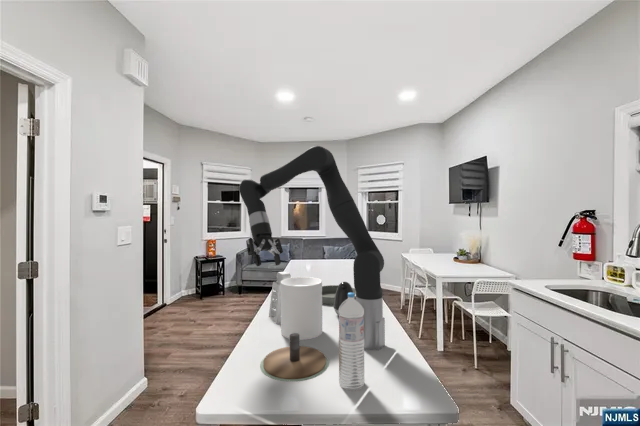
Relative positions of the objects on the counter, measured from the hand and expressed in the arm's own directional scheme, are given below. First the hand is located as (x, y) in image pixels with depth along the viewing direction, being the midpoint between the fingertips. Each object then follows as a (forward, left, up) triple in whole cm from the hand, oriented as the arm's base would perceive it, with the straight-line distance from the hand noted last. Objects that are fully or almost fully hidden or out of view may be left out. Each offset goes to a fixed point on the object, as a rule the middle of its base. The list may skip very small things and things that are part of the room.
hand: (269, 265), depth 115 cm
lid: (-19, +11, -27) cm, 35 cm away
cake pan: (+4, -59, -28) cm, 65 cm away
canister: (-7, -11, -28) cm, 30 cm away
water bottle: (-39, +13, -28) cm, 50 cm away
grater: (+9, -21, -28) cm, 35 cm away
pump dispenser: (-13, -37, -28) cm, 48 cm away
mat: (-19, +11, -27) cm, 35 cm away
